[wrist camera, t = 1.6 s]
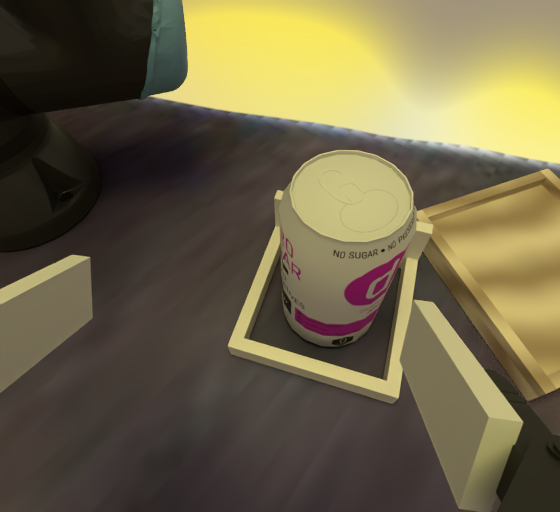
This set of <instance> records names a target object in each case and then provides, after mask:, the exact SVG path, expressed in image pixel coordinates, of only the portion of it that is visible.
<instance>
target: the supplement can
mask: <svg viewBox="0 0 560 512" xmlns="http://www.w3.org/2000/svg"><path fill="white" fill-rule="evenodd" d="M279 222H280V251H281V281H282V303H283V310H284V316H285V317H286V319H287V321H288V323H289V324H290V326H291V328H292V329H293V330H294V331H295V332H296V333H297V334H299V335H300V336H301V337H302V338H303V339H305V340H306V341H309V342H312V343H314V344H317V345H320V346H330V347H340V346H343V345H346V344H349V343H352V342H355V341H356V340H357V339H359V338H360V337H361V336H362V335H364V334H365V333H366V332H367V331H368V329H369V327H370V325H371V324H372V322H373V320H374V318H375V316H376V314H377V312H378V309H379V307H380V305H381V303H382V301H383V299H384V297H385V295H386V292H387V290H388V288H389V286H390V284H391V282H392V280H393V278H394V276H395V273H396V271H397V269H398V267H399V265H400V263H401V261H402V259H403V256H404V254H405V252H406V250H407V248H408V246H409V244H410V242H411V240H412V237H413V235H414V233H415V231H416V222H417V210H416V207H415V204H414V202H413V191H412V189H411V187H410V184H409V182H408V180H407V178H406V177H405V176H404V174H403V173H402V172H401V171H400V170H399V169H398V168H397V167H396V166H395V165H394V164H392V163H390V162H388V161H386V160H385V159H383V158H381V157H379V156H377V155H374V154H370V153H366V152H362V151H358V150H336V151H332V152H328V153H323V154H319V155H318V156H316V157H314V158H312V159H311V160H309V161H307V162H305V163H304V164H303V165H302V166H301V167H300V169H299V170H298V171H297V172H296V173H295V175H294V176H293V180H292V182H291V183H290V184H289V185H288V186H287V188H286V189H285V190H284V192H283V196H282V199H281V203H280V206H279Z"/></svg>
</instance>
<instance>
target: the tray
mask: <svg viewBox="0 0 560 512" xmlns="http://www.w3.org/2000/svg"><path fill="white" fill-rule="evenodd" d="M417 221H419V222H424V223H428V224H433V230H432V235H431V237H430V239H429V241H428V242H427V244H426V246H425V248H424V250H423V253H424V254H425V256H426V257H427V259H428V260H429V261H430V263H431V264H432V266H433V267H434V269H435V270H436V272H437V273H438V274H439V276H440V277H441V279H442V280H443V282H444V283H445V284H446V286H447V287H448V289H449V290H450V292H451V293H452V294H453V296H454V297H455V299H456V300H457V302H458V303H459V304H460V306H461V307H462V309H463V310H464V312H465V313H466V314H467V316H468V317H469V319H470V320H471V322H472V323H473V324H474V326H475V327H476V329H477V330H478V332H479V333H480V334H481V336H482V337H483V339H484V340H485V342H486V343H487V344H488V346H489V347H490V349H491V350H492V352H493V353H494V354H495V356H496V357H497V359H498V360H499V362H500V363H501V365H502V366H503V367H504V369H505V370H506V372H507V373H508V375H509V376H510V377H511V379H512V380H513V382H514V383H515V385H516V386H517V387H518V389H519V390H520V392H521V393H522V395H523V396H524V397H525V399H526V400H527V401H530V400H532V399H535V398H537V397H539V396H542V395H544V394H547V393H549V392H551V391H553V390H555V389H558V388H560V179H559V178H558V177H557V176H555V175H554V174H553V173H552V172H551V171H550V170H549V169H545V170H542V171H539V172H536V173H533V174H530V175H527V176H524V177H521V178H518V179H515V180H512V181H508V182H505V183H502V184H499V185H496V186H493V187H490V188H487V189H484V190H481V191H478V192H475V193H472V194H469V195H466V196H463V197H459V198H456V199H453V200H450V201H447V202H444V203H441V204H438V205H435V206H432V207H429V208H426V209H423V210H420V211H417Z"/></svg>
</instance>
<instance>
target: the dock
mask: <svg viewBox="0 0 560 512" xmlns="http://www.w3.org/2000/svg"><path fill="white" fill-rule="evenodd" d="M283 192H284V191H279V190H278V191H277V193H276V195H275V198H274V204H275V225H276V226H275V229H274V231H273V234H272V236H271V239H270V241H269V244H268V246H267V249H266V251H265V254H264V256H263V259H262V261H261V264H260V266H259V269H258V271H257V274H256V276H255V279H254V281H253V284H252V286H251V289H250V291H249V294H248V296H247V299H246V301H245V304H244V306H243V309H242V311H241V314H240V316H239V319H238V321H237V324H236V326H235V329H234V331H233V334H232V336H231V339H230V341H229V344H228V348H229V351H230V353H231V354H232V355H235V356H238V357H242V358H245V359H248V360H251V361H255V362H258V363H261V364H264V365H267V366H271V367H274V368H277V369H280V370H284V371H287V372H290V373H293V374H297V375H300V376H303V377H306V378H309V379H313V380H316V381H319V382H322V383H326V384H329V385H332V386H335V387H339V388H342V389H345V390H348V391H352V392H355V393H358V394H361V395H364V396H368V397H371V398H374V399H377V400H381V401H384V402H387V403H390V404H393V403H394V402H395V401H396V400H397V399H398V398H399V392H400V385H401V378H402V370H403V368H402V366H401V363H400V361H399V360H400V355H401V351H402V347H403V343H404V338H405V334H406V330H407V325H408V321H409V317H410V313H411V306H412V299H413V292H414V285H415V278H416V271H417V263H418V259H419V257H420V255H421V254H422V252H423V250H424V248H425V246H426V244H427V242H428V241H429V239H430V237H431V235H432V230H433V224H428V223H424V222H419V221H417V222H416V231H415V233H414V235H413V237H412V240H411V242H410V244H409V246H408V248H407V250H406V252H405V254H404V256H403V259H402V261H401V263H400V265H399V267H398V268H400V269H401V273H400V279H399V285H398V291H397V297H396V303H395V309H394V315H393V322H392V328H391V334H390V340H389V346H388V352H387V358H386V364H385V370H384V376H383V380H382V379H379V378H375V377H372V376H369V375H365V374H362V373H359V372H355V371H352V370H349V369H345V368H342V367H339V366H335V365H332V364H329V363H325V362H322V361H319V360H315V359H312V358H309V357H305V356H302V355H299V354H295V353H292V352H288V351H285V350H282V349H278V348H275V347H272V346H268V345H265V344H262V343H258V342H255V341H252V340H249V337H250V335H251V332H252V329H253V327H254V324H255V321H256V319H257V316H258V313H259V311H260V308H261V305H262V303H263V300H264V297H265V294H266V292H267V289H268V286H269V284H270V281H271V278H272V276H273V273H274V270H275V268H276V265H277V262H278V260H279V257H280V254H281V251H280V222H279V206H280V203H281V199H282V196H283Z"/></svg>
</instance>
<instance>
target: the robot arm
mask: <svg viewBox="0 0 560 512" xmlns="http://www.w3.org/2000/svg"><path fill="white" fill-rule="evenodd" d="M186 44H187V43H186V32H185V22H184V14H183V5H182V0H0V251H15V250H22V249H26V248H30V247H34V246H37V245H40V244H43V243H45V242H47V241H50V240H52V239H54V238H56V237H58V236H60V235H61V234H63V233H64V232H66V231H68V230H69V229H70V228H72V227H73V226H74V225H76V224H77V223H78V222H79V221H80V220H81V219H82V218H83V217H84V216H85V215H86V214H87V213H88V212H89V210H90V209H91V208H92V206H93V205H94V203H95V201H96V199H97V197H98V195H99V192H100V188H101V175H100V171H99V169H98V166H97V165H96V163H95V161H94V160H93V158H92V156H91V154H90V153H89V151H88V150H87V149H86V148H85V147H84V146H83V145H82V144H81V143H80V142H79V141H78V140H76V139H75V138H74V137H73V136H72V135H70V134H69V133H68V132H67V131H66V130H65V129H63V128H62V127H61V126H60V125H59V124H58V123H56V122H55V121H54V120H53V119H52V118H50V117H49V116H48V115H47V114H46V113H45V112H51V111H58V110H65V109H71V108H78V107H85V106H92V105H98V104H105V103H112V102H119V101H125V100H132V99H139V100H143V99H145V98H147V96H150V95H155V94H160V93H164V92H170V91H174V90H175V89H177V88H179V87H180V86H181V85H182V84H183V82H184V80H185V78H186V76H187V71H188V61H187V45H186ZM92 318H93V311H92V288H91V265H90V257H85V256H77V255H71V256H68V257H66V258H64V259H62V260H60V261H58V262H56V263H54V264H52V265H50V266H48V267H45V268H43V269H41V270H39V271H37V272H35V273H33V274H31V275H29V276H27V277H25V278H22V279H20V280H18V281H16V282H14V283H12V284H10V285H8V286H6V287H4V288H2V289H0V393H1V392H2V391H3V390H5V389H6V388H7V387H8V386H10V385H11V384H12V383H13V382H15V381H16V380H17V379H18V378H19V377H21V376H22V375H23V374H24V373H26V372H27V371H28V370H29V369H31V368H32V367H33V366H34V365H35V364H37V363H38V362H39V361H40V360H42V359H43V358H44V357H45V356H47V355H48V354H49V353H50V352H51V351H53V350H54V349H55V348H56V347H58V346H59V345H60V344H61V343H63V342H64V341H65V340H66V339H67V338H69V337H70V336H71V335H72V334H74V333H75V332H76V331H77V330H79V329H80V328H81V327H82V326H83V325H85V324H86V323H87V322H88V321H90V320H91V319H92ZM399 361H400V363H401V366H402V368H403V371H404V373H405V376H406V378H407V381H408V383H409V386H410V388H411V391H412V393H413V396H414V398H415V401H416V403H417V406H418V408H419V411H420V413H421V416H422V418H423V421H424V423H425V426H426V428H427V431H428V433H429V436H430V438H431V441H432V443H433V446H434V448H435V451H436V453H437V456H438V458H439V461H440V463H441V466H442V468H443V471H444V473H445V476H446V478H447V481H448V483H449V486H450V488H451V491H452V493H453V496H454V498H455V501H456V503H457V506H458V508H459V509H466V510H472V511H479V512H491V509H492V506H493V504H494V501H495V498H496V495H498V497H499V499H500V501H501V505H500V507H499V509H498V511H497V512H560V436H557V435H553V434H552V433H551V432H550V431H549V429H548V428H547V427H546V426H545V425H544V423H543V422H542V421H541V420H540V418H539V417H538V416H537V415H536V414H535V412H534V411H533V410H532V409H531V408H530V406H529V405H527V403H526V401H525V400H524V399H523V398H522V397H521V396H520V395H519V393H518V392H517V390H516V389H515V388H514V387H513V386H512V384H511V383H510V382H509V381H508V380H506V379H505V378H504V377H502V376H501V375H500V374H498V373H497V372H495V371H493V370H486V369H483V368H482V366H481V365H480V364H479V362H478V361H477V360H476V358H475V357H474V356H473V354H472V353H471V352H470V351H469V349H468V348H467V347H466V345H465V344H464V343H463V341H462V340H461V339H460V337H459V336H458V335H457V333H456V332H455V331H454V329H453V328H452V327H451V325H450V324H449V323H448V321H447V320H446V319H445V317H444V316H443V315H442V313H441V312H440V311H439V309H438V308H437V307H436V305H435V304H434V303H433V302H427V301H420V300H413V304H412V308H411V313H410V317H409V321H408V325H407V330H406V334H405V338H404V343H403V347H402V351H401V355H400V360H399Z"/></svg>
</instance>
